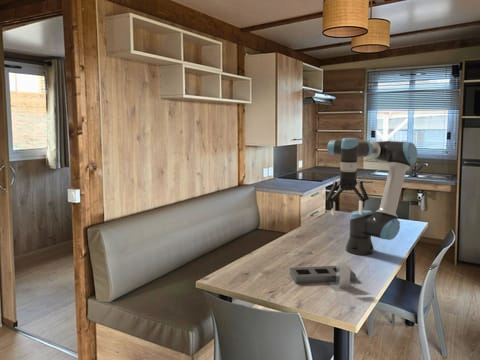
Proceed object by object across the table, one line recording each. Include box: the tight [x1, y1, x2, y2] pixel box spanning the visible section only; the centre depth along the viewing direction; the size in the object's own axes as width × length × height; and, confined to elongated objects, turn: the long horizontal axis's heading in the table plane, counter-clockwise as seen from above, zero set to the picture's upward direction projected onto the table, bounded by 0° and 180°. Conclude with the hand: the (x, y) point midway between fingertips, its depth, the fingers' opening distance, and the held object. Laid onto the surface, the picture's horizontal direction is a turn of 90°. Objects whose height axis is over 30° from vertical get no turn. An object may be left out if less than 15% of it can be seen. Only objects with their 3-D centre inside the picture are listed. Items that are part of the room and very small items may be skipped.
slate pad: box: [327, 282, 358, 292], centre depth 184 cm, size 10×10×1 cm
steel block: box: [336, 262, 352, 289], centre depth 183 cm, size 5×5×10 cm
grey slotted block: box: [289, 265, 357, 285], centre depth 194 cm, size 28×12×4 cm, turn 96°
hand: (346, 214), depth 199 cm, fingers open, 13 cm apart
